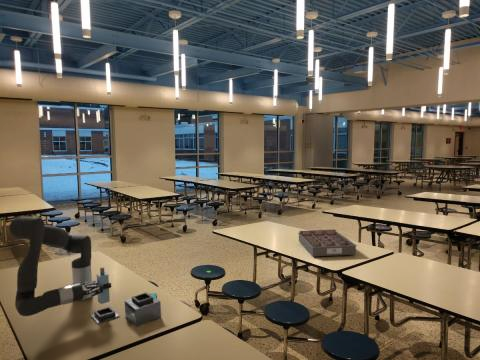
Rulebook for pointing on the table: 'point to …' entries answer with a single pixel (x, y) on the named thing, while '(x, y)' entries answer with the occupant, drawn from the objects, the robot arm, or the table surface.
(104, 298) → the plug
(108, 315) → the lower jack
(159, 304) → the box with square opening
